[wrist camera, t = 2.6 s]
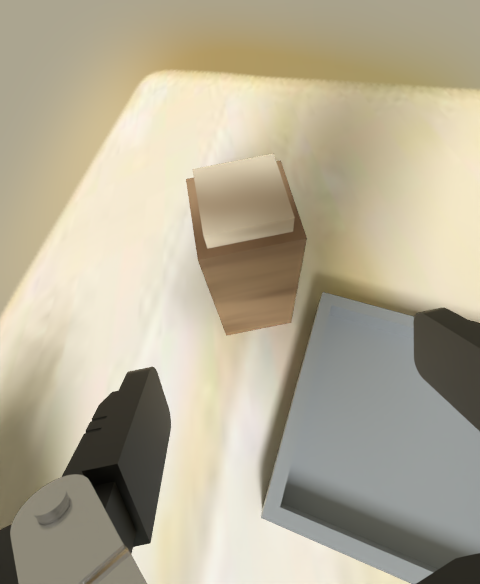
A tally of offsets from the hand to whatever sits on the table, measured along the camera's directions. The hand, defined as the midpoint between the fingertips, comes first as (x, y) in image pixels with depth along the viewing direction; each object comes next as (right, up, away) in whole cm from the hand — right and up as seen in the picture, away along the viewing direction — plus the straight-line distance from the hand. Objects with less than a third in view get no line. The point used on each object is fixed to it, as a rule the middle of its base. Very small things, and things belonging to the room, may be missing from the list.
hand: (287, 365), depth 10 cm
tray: (+9, -7, +11) cm, 15 cm away
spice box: (0, +2, +16) cm, 16 cm away
